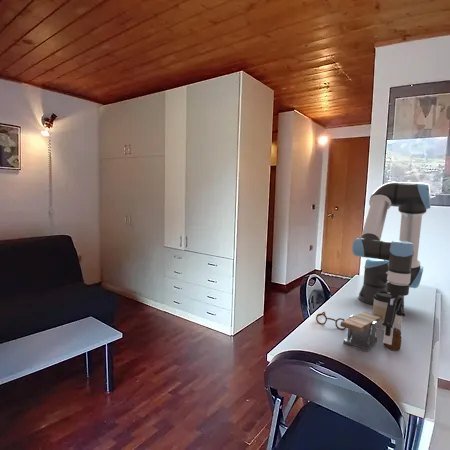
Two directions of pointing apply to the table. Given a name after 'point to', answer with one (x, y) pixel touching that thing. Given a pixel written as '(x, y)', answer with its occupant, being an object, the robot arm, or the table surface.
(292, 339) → the table surface
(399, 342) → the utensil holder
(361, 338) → the stand
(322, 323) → the glasses
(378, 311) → the coffee cup
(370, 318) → the beam
